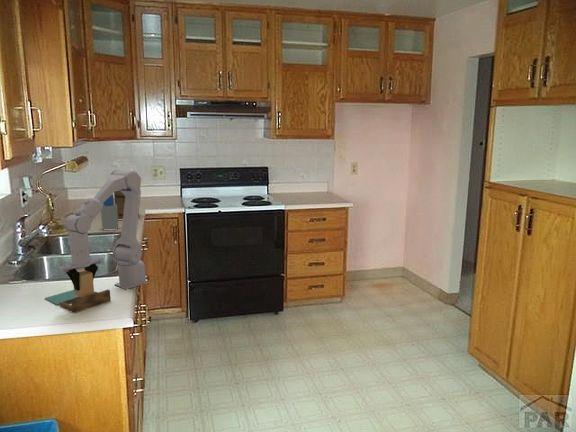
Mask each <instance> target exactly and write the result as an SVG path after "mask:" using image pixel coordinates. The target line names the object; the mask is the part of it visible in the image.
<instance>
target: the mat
mask: <svg viewBox="0 0 576 432" xmlns="http://www.w3.org/2000/svg"><path fill="white" fill-rule="evenodd" d="M76 297H79V296H77V295H75V294H74V289H71V290H67V291H65V292H61V293H58V294H54V295H51V296H47V297H44V300H46V301H47V302H50V304H53V305H55V306H60V305H59V302H62V301H66V300H69V299H72V298H76Z"/></svg>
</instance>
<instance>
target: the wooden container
mask: <svg viewBox="0 0 576 432" xmlns="http://www.w3.org/2000/svg"><path fill="white" fill-rule="evenodd" d="M113 197H114V204H116V205H117V212H118V219H123V213H124V204H125V195H124V194H123V193H122V192H121V191H120V190H116V191H115V192H114V193H113ZM138 217H139V218H140V214H139V215H138Z"/></svg>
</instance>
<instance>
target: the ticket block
mask: <svg viewBox="0 0 576 432" xmlns="http://www.w3.org/2000/svg"><path fill="white" fill-rule="evenodd" d="M77 272H79V273H80V275H79V285H80V290H78V291H77V290H75V288H74V285H73V284H72V285H73V286H72V287H73V290H74V294H75V295H77V296H79V297H81V298H82V297H85V296H88V295H91V294H94V292H95V289H94V288H95V286H94V280H93V274H92V273H91V272H89V271H86V270H85V268H82V269H78V270H77Z"/></svg>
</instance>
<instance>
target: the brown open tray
mask: <svg viewBox="0 0 576 432" xmlns="http://www.w3.org/2000/svg"><path fill="white" fill-rule="evenodd" d="M108 302H109V303H110V302H111V290H110V289H105V290H101V291H95V290H94V294H91V295H88V296H85V297H82V298H81V297H76V298H72V299H69V300H66V301H62V302H59V305H58V306H59V307H62V309H65V310H67V311H69V312H71V313H73V314H76V313H78V312H81V311H85V310H87V309H90V308H93V307H96V306H100V305H103V304H106V303H108Z"/></svg>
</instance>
